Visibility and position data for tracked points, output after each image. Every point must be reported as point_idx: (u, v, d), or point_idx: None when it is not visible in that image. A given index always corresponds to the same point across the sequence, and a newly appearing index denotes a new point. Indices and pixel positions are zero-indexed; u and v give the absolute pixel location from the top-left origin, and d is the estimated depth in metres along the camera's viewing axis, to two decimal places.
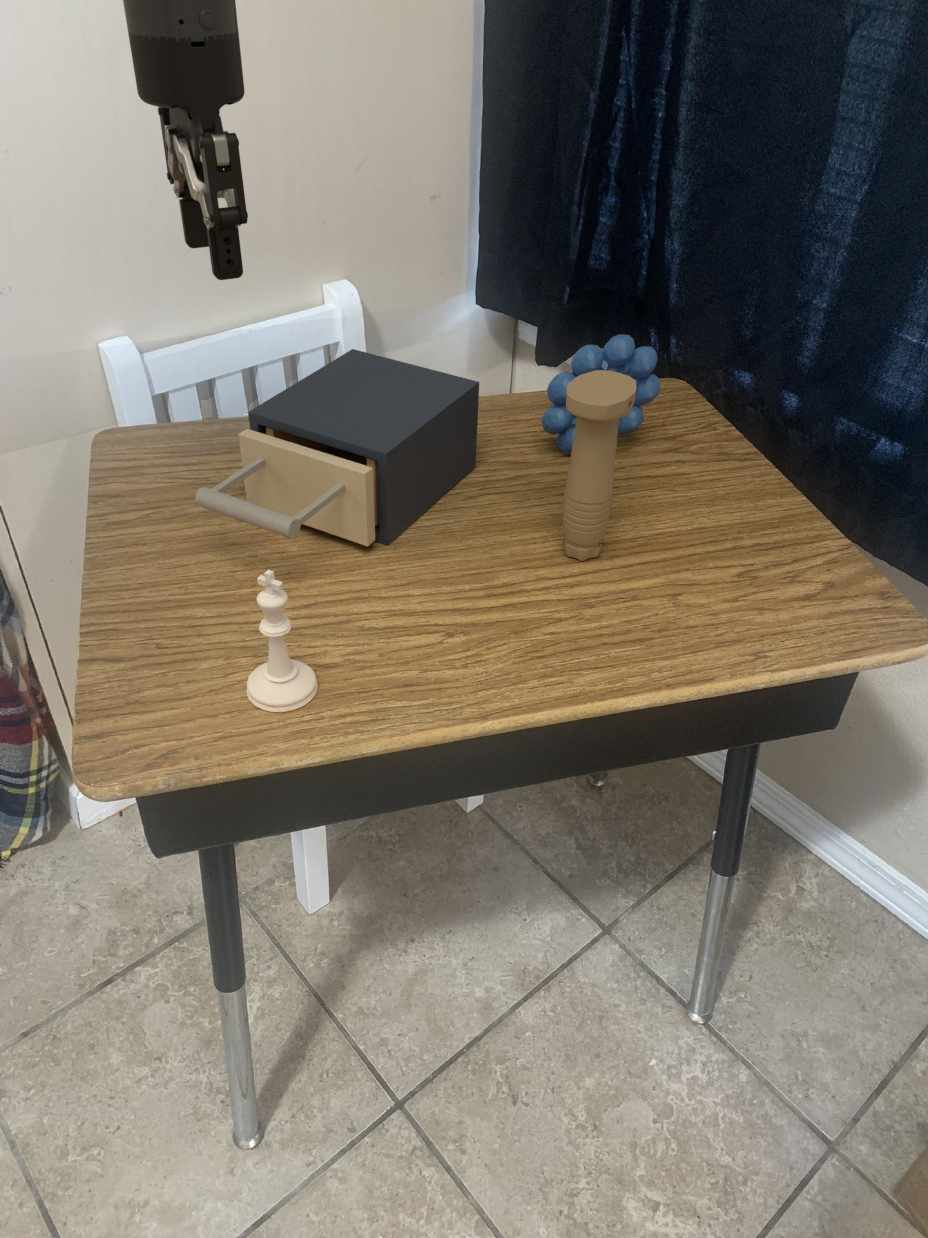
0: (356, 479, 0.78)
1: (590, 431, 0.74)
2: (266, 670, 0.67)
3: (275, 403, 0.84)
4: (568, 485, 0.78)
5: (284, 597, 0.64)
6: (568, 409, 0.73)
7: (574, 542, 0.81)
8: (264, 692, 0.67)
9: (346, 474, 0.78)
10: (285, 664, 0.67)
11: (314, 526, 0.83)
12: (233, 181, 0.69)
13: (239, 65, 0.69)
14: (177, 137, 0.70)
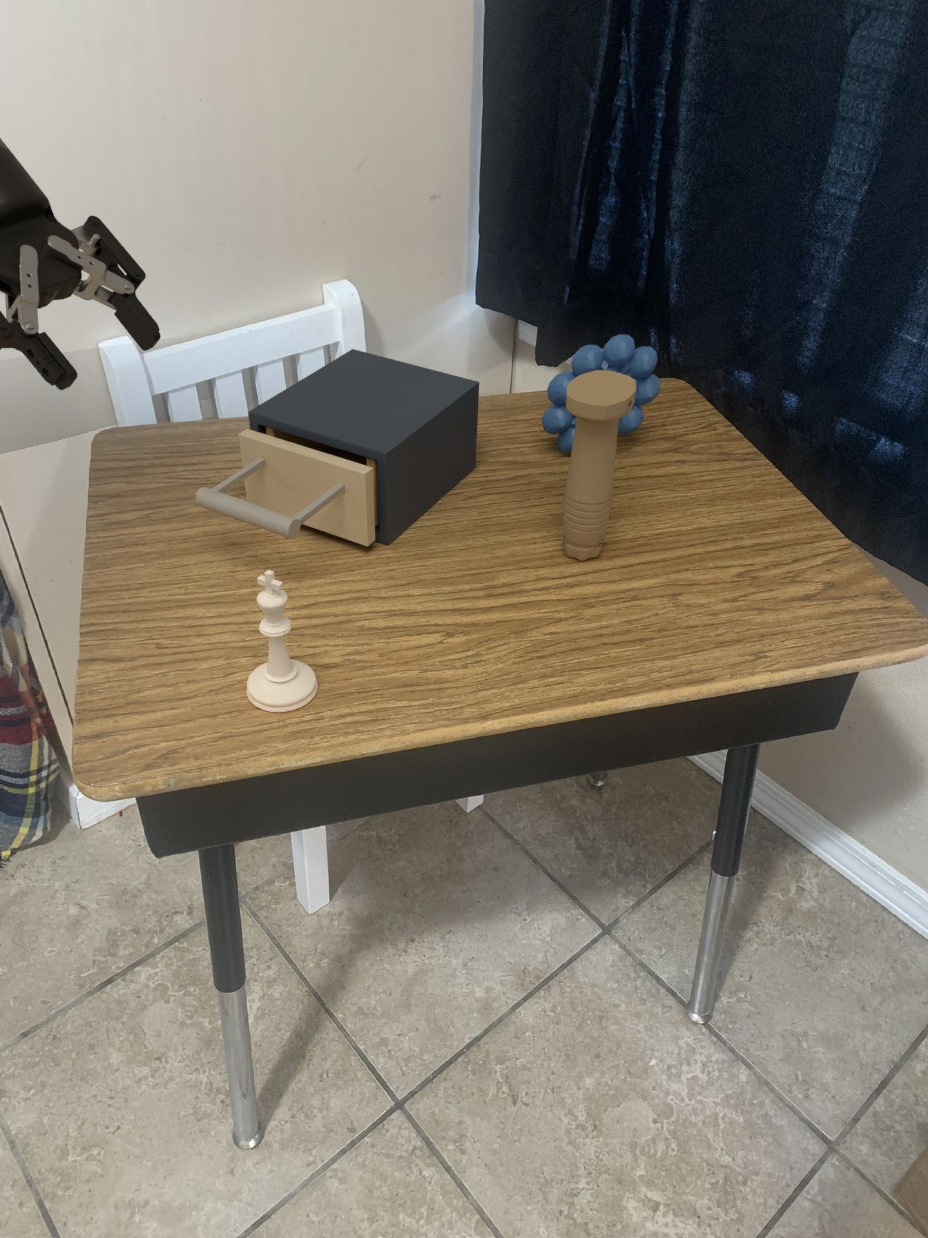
0: (356, 479, 0.78)
1: (590, 431, 0.74)
2: (266, 670, 0.67)
3: (275, 403, 0.84)
4: (568, 485, 0.78)
5: (284, 597, 0.64)
6: (568, 409, 0.73)
7: (574, 542, 0.81)
8: (264, 692, 0.67)
9: (346, 474, 0.78)
10: (285, 664, 0.67)
11: (314, 526, 0.83)
12: None
13: None
14: (55, 236, 0.72)
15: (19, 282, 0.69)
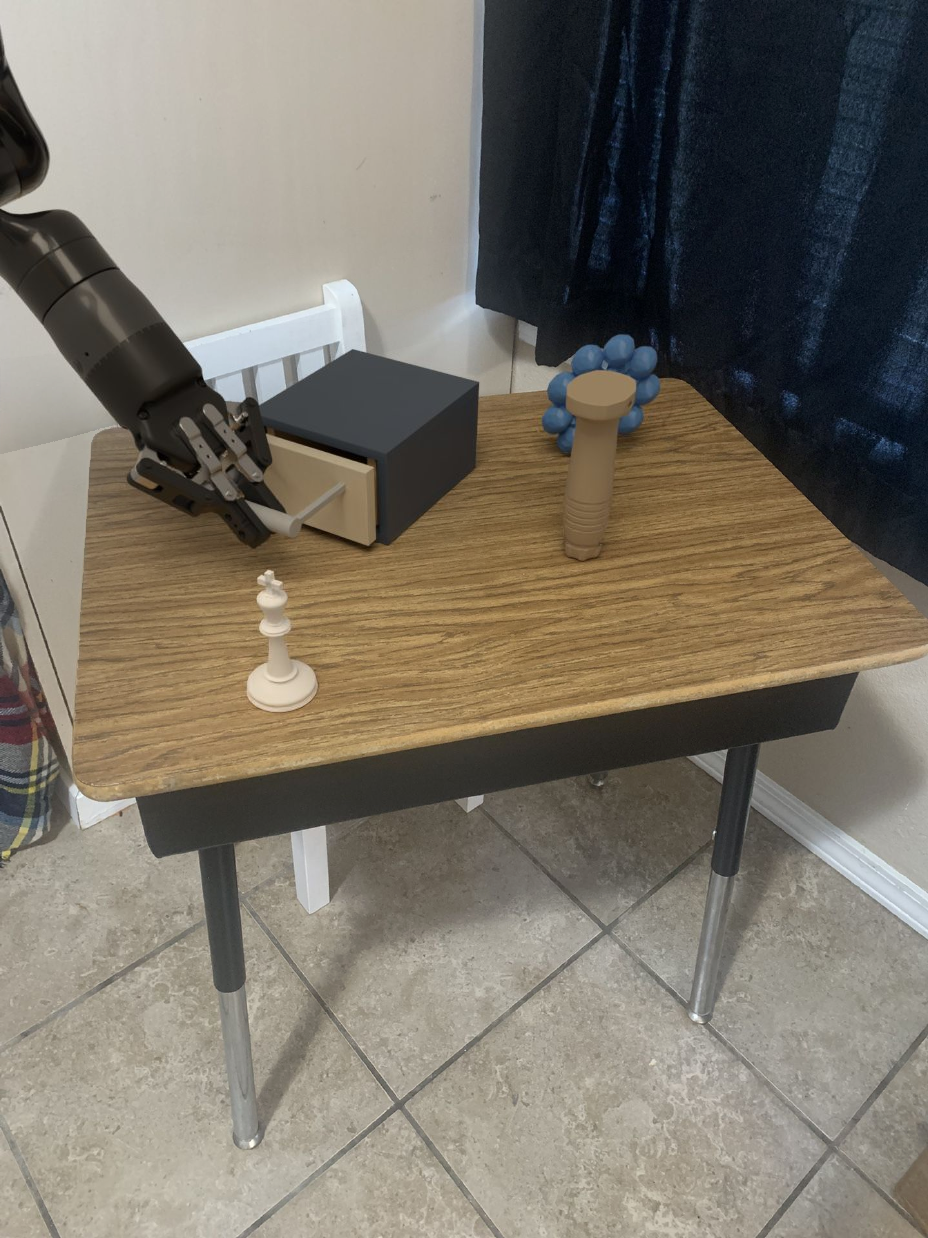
0: (357, 478, 0.78)
1: (590, 431, 0.74)
2: (266, 670, 0.67)
3: (275, 403, 0.84)
4: (568, 485, 0.78)
5: (284, 597, 0.64)
6: (568, 409, 0.73)
7: (574, 542, 0.81)
8: (264, 692, 0.67)
9: (347, 474, 0.78)
10: (285, 664, 0.67)
11: (315, 525, 0.83)
12: None
13: None
14: (213, 406, 0.74)
15: (198, 458, 0.72)
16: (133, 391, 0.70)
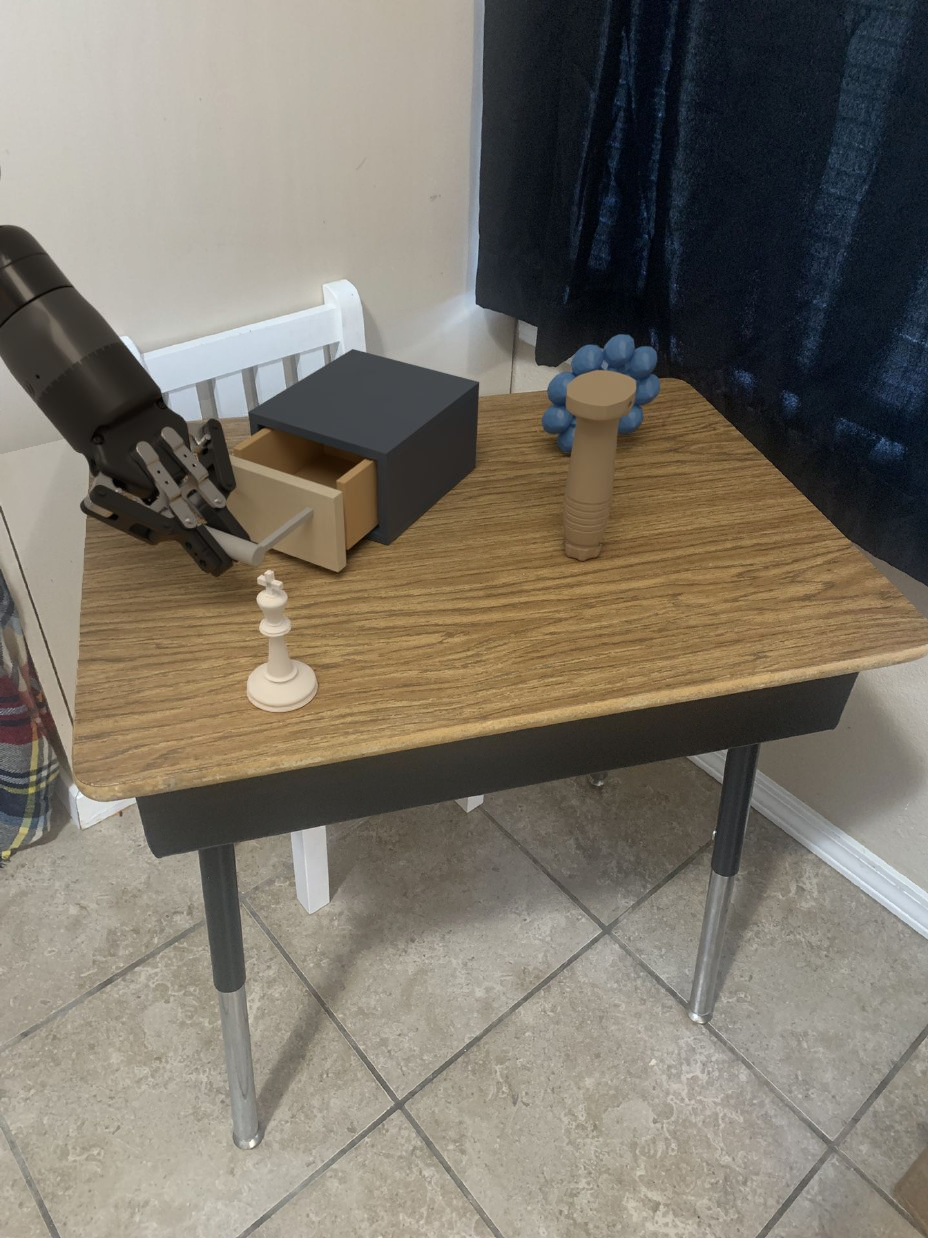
0: (325, 503, 0.75)
1: (590, 431, 0.74)
2: (266, 670, 0.67)
3: (275, 403, 0.84)
4: (568, 485, 0.78)
5: (284, 597, 0.64)
6: (568, 409, 0.73)
7: (574, 542, 0.81)
8: (264, 692, 0.67)
9: (314, 498, 0.75)
10: (285, 664, 0.67)
11: (283, 550, 0.80)
12: None
13: None
14: (173, 430, 0.71)
15: (156, 484, 0.69)
16: (86, 415, 0.67)
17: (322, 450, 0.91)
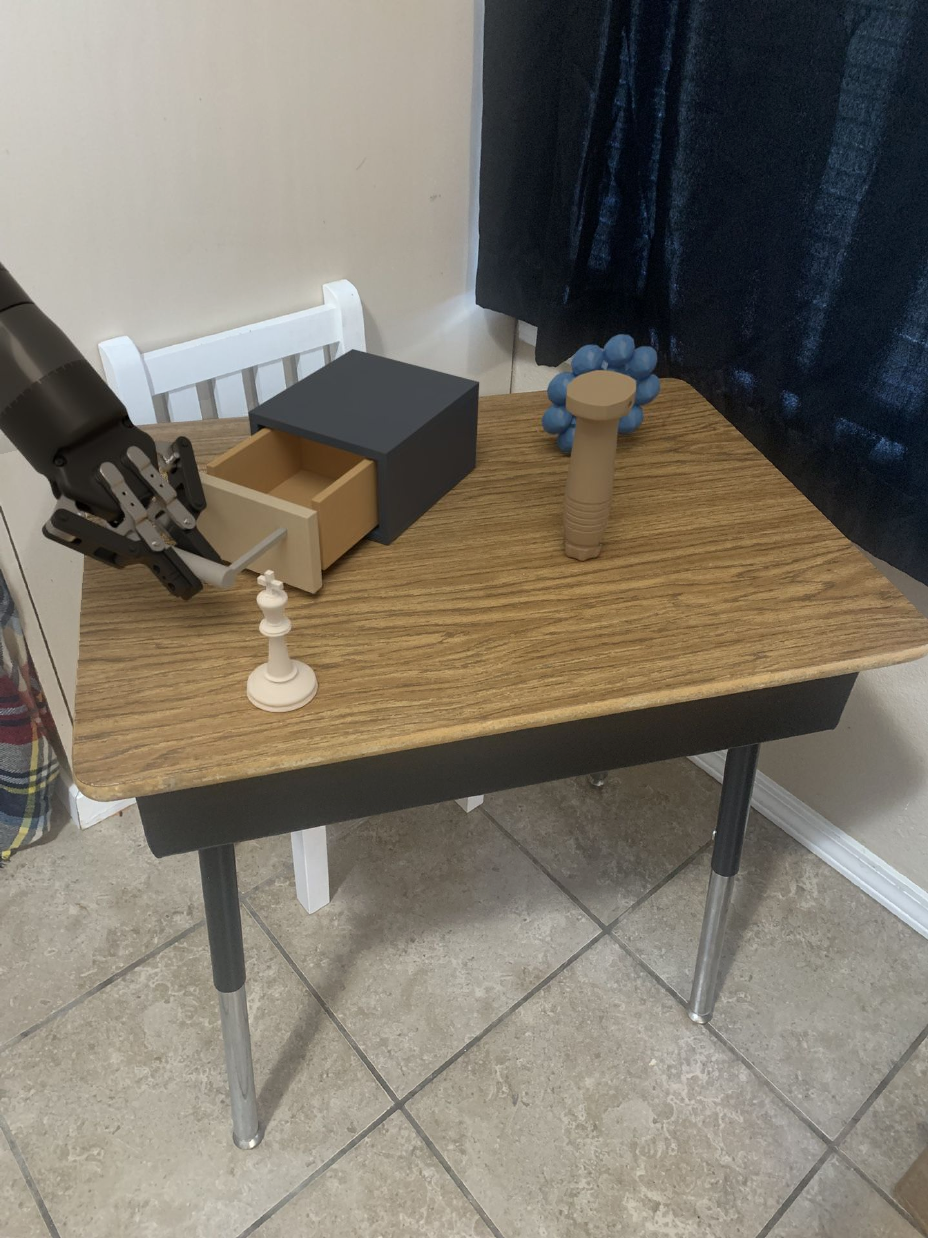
0: (299, 523, 0.72)
1: (590, 431, 0.74)
2: (266, 670, 0.67)
3: (275, 403, 0.84)
4: (568, 485, 0.78)
5: (284, 597, 0.64)
6: (568, 409, 0.73)
7: (574, 542, 0.81)
8: (264, 692, 0.67)
9: (288, 518, 0.73)
10: (285, 664, 0.67)
11: (258, 571, 0.78)
12: None
13: None
14: (139, 449, 0.68)
15: (121, 506, 0.67)
16: (47, 436, 0.64)
17: (300, 465, 0.88)
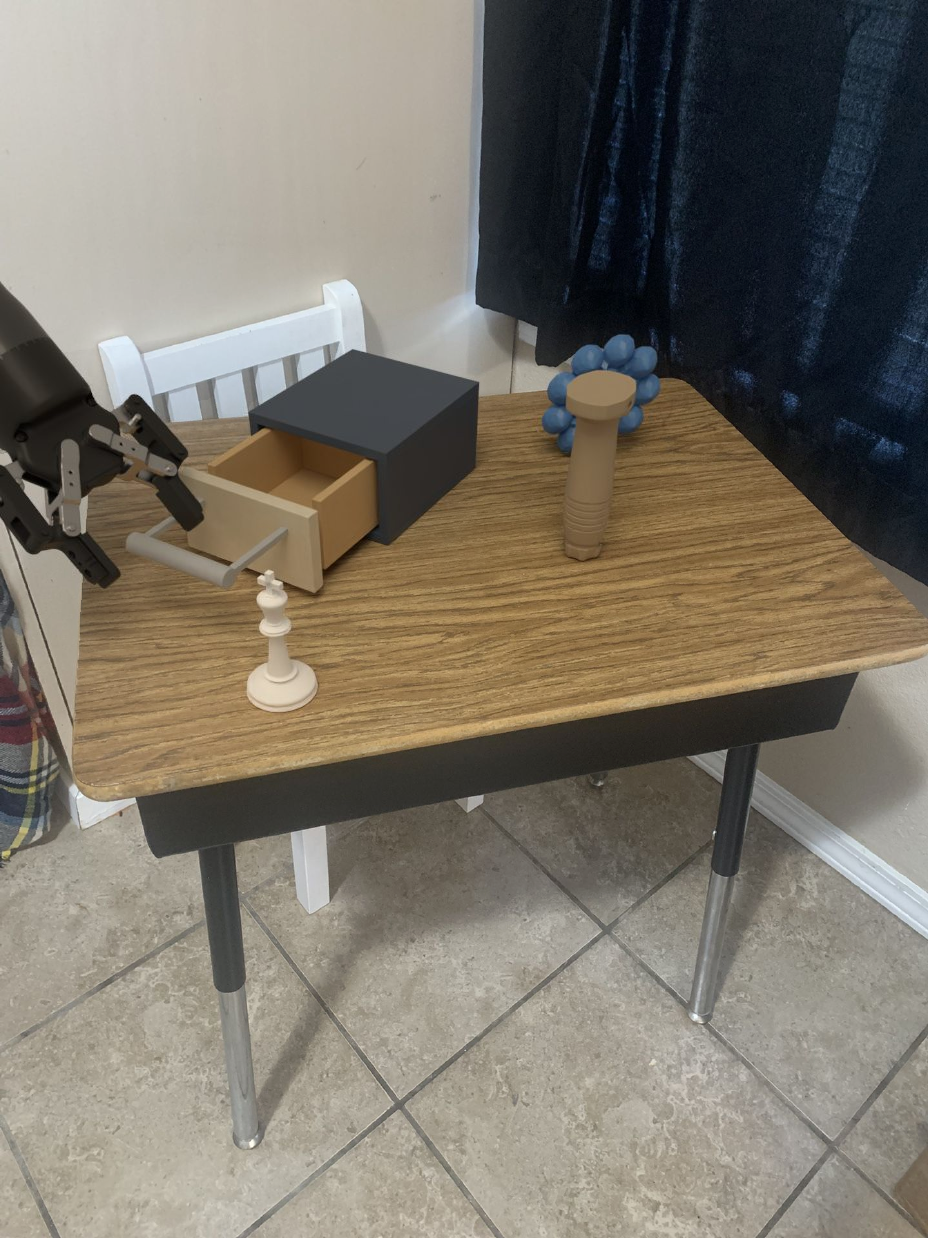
0: (299, 523, 0.72)
1: (590, 431, 0.74)
2: (266, 670, 0.67)
3: (275, 403, 0.84)
4: (568, 485, 0.78)
5: (284, 597, 0.64)
6: (568, 409, 0.73)
7: (574, 542, 0.81)
8: (264, 692, 0.67)
9: (289, 518, 0.73)
10: (285, 664, 0.67)
11: (258, 570, 0.78)
12: None
13: None
14: (97, 425, 0.69)
15: (60, 481, 0.66)
16: (8, 412, 0.65)
17: (301, 464, 0.88)
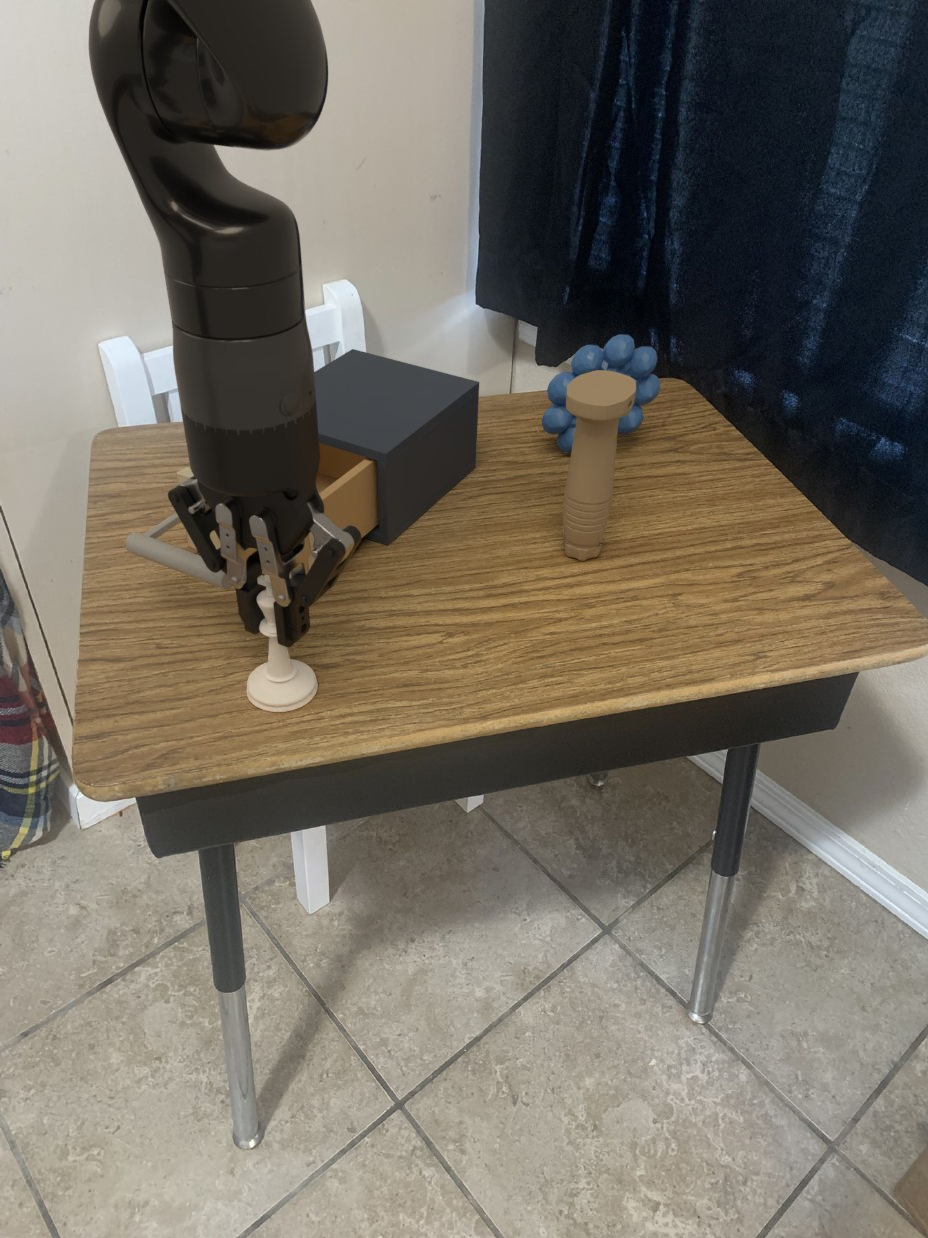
0: None
1: (590, 431, 0.74)
2: (266, 670, 0.67)
3: None
4: (568, 485, 0.78)
5: None
6: (568, 409, 0.73)
7: (574, 542, 0.81)
8: (263, 692, 0.67)
9: None
10: (285, 664, 0.67)
11: None
12: None
13: (188, 445, 0.55)
14: None
15: None
16: (318, 448, 0.57)
17: None
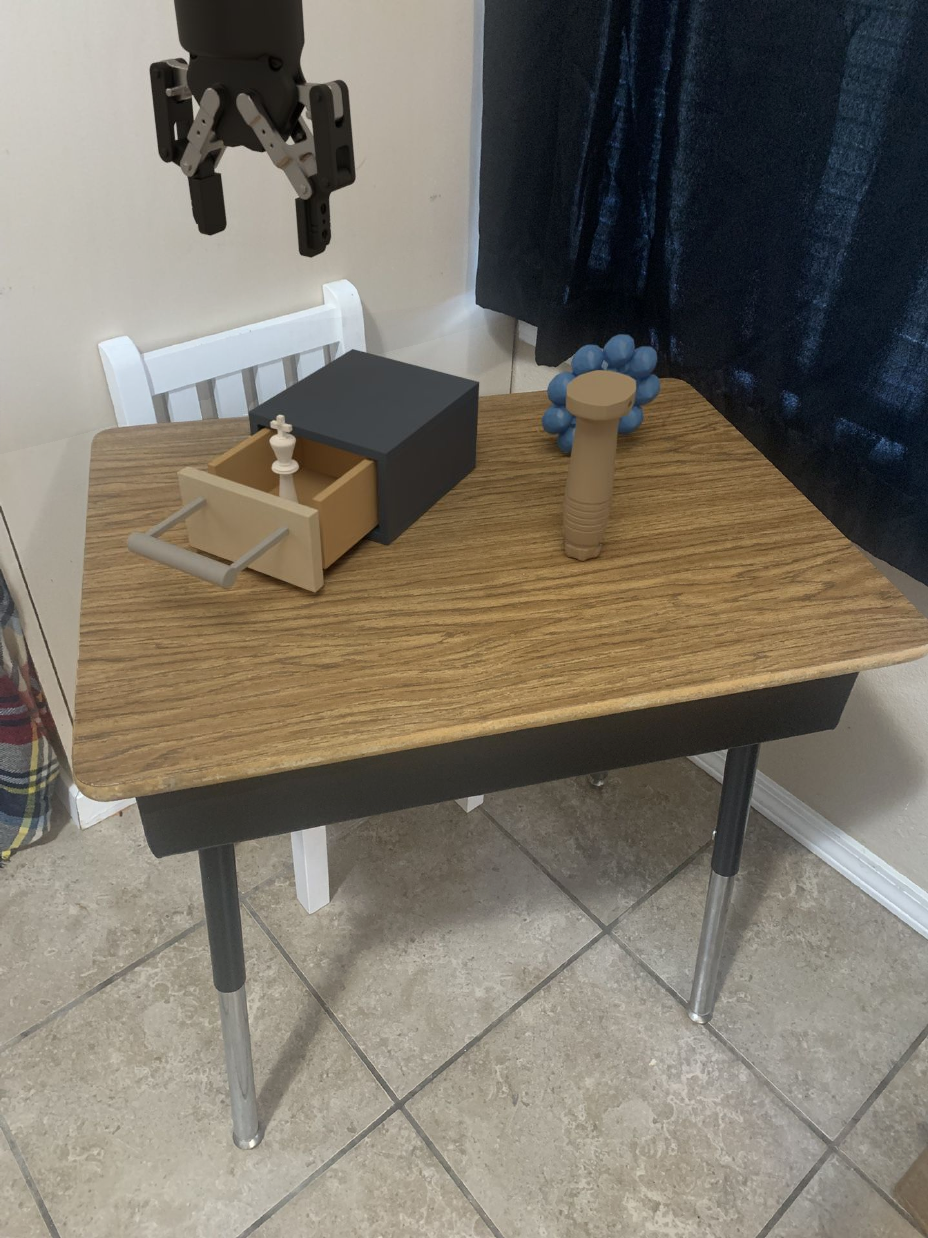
0: (300, 522, 0.72)
1: (590, 431, 0.74)
2: None
3: (275, 403, 0.84)
4: (568, 485, 0.78)
5: (293, 439, 0.76)
6: (568, 409, 0.73)
7: (574, 542, 0.81)
8: None
9: (290, 517, 0.73)
10: None
11: (259, 570, 0.78)
12: None
13: (177, 7, 0.57)
14: None
15: (305, 126, 0.62)
16: (303, 27, 0.59)
17: (301, 464, 0.88)
